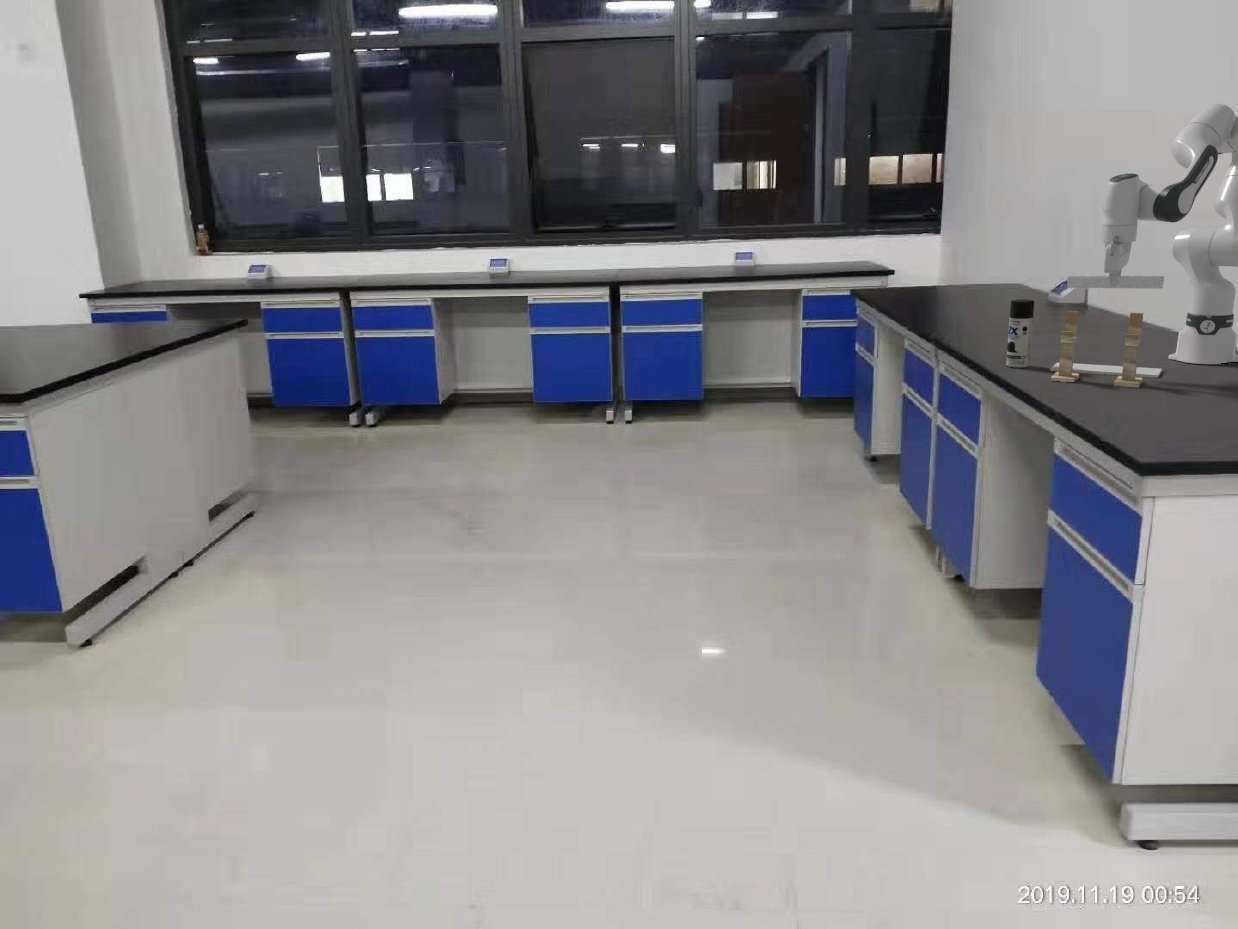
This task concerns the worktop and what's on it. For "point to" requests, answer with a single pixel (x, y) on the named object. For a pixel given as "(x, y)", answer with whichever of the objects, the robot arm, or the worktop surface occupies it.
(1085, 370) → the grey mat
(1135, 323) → the hook post
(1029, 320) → the spray can
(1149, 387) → the worktop surface
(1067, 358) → the hook post
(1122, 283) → the steel bar
